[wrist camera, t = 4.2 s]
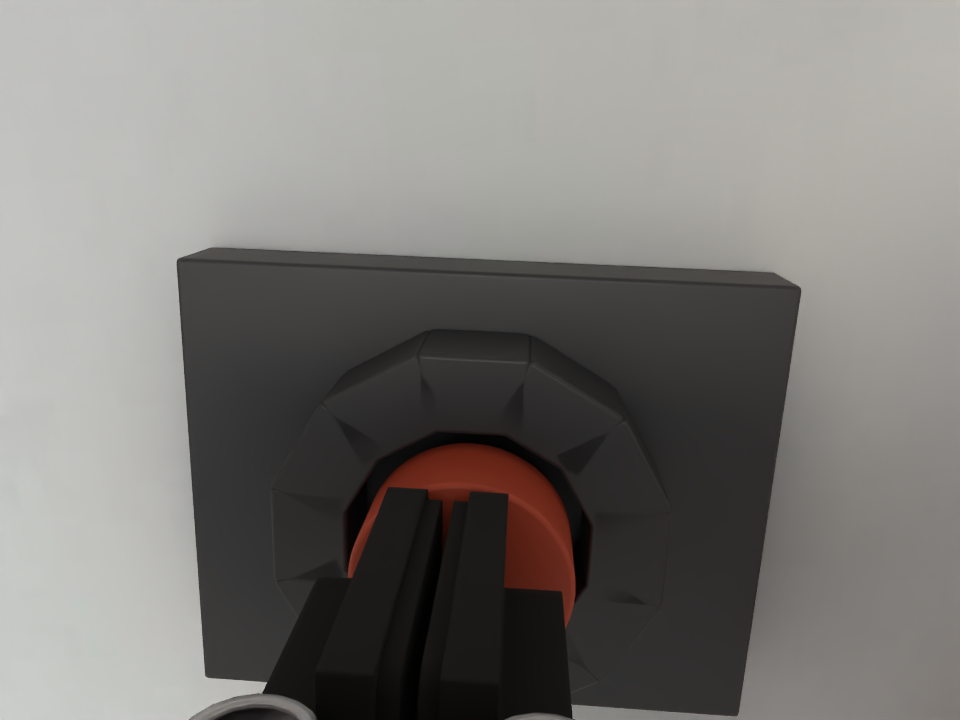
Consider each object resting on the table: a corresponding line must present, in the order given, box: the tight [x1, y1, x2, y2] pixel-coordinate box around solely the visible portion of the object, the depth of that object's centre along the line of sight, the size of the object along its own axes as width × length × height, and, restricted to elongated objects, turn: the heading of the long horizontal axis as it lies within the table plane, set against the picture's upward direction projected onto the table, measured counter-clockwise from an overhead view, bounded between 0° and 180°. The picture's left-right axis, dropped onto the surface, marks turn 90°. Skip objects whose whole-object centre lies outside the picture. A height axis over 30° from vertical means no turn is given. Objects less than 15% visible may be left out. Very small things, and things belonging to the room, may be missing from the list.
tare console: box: [177, 248, 801, 716], centre depth 13 cm, size 10×8×3 cm
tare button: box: [348, 443, 575, 628], centre depth 12 cm, size 3×3×2 cm
